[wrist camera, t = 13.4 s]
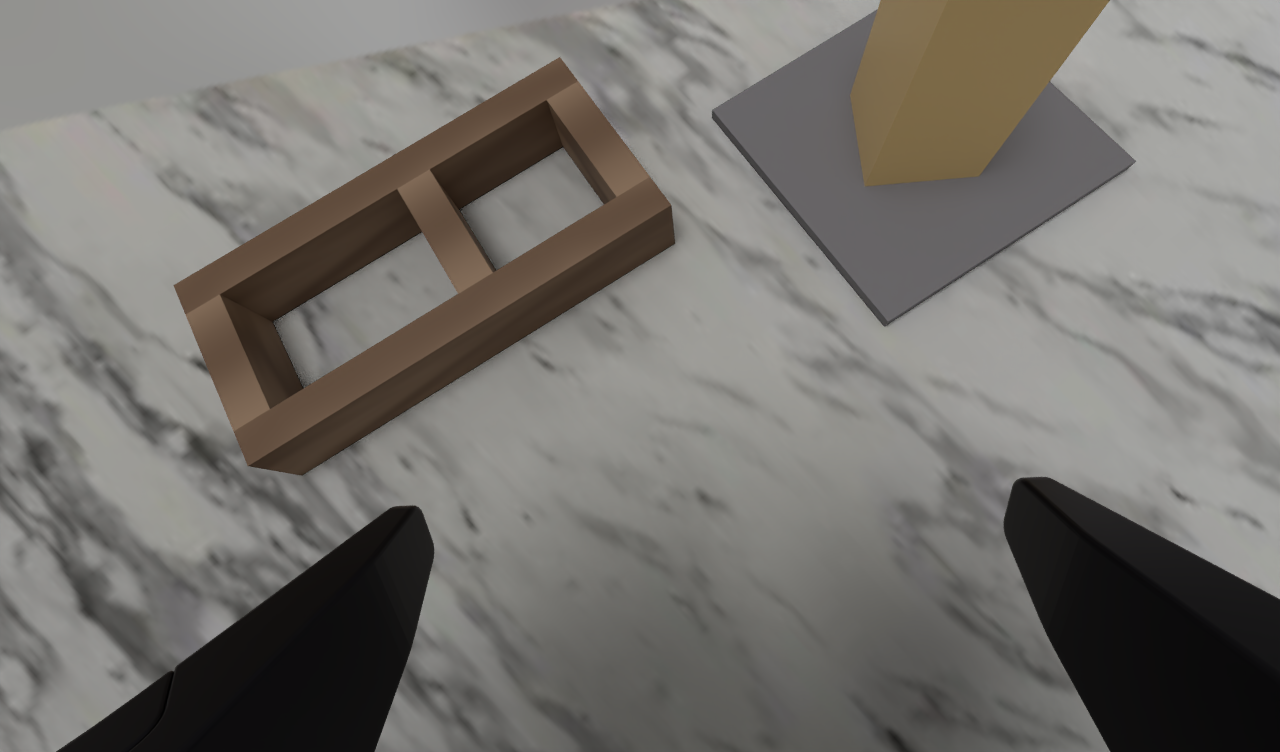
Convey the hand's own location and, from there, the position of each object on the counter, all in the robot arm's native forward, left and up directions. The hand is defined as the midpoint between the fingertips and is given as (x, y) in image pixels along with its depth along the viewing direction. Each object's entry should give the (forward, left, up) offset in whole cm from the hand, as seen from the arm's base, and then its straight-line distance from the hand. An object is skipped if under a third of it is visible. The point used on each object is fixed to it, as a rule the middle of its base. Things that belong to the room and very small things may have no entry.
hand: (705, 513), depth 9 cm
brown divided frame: (+15, +3, -14) cm, 20 cm away
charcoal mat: (+9, -16, -14) cm, 23 cm away
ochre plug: (+9, -16, -13) cm, 23 cm away
